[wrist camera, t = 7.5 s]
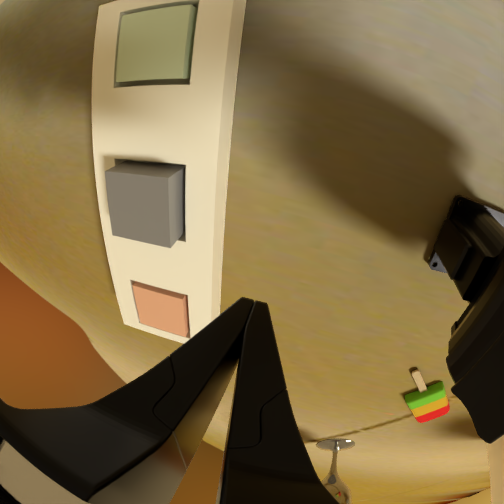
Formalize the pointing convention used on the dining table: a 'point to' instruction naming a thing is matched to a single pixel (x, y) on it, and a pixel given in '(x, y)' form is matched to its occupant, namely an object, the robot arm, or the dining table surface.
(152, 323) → the terracotta key
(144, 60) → the sage key
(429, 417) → the popsicle
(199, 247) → the cream block puzzle board
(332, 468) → the wine glass
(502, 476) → the cylinder
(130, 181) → the charcoal key
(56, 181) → the dining table surface
